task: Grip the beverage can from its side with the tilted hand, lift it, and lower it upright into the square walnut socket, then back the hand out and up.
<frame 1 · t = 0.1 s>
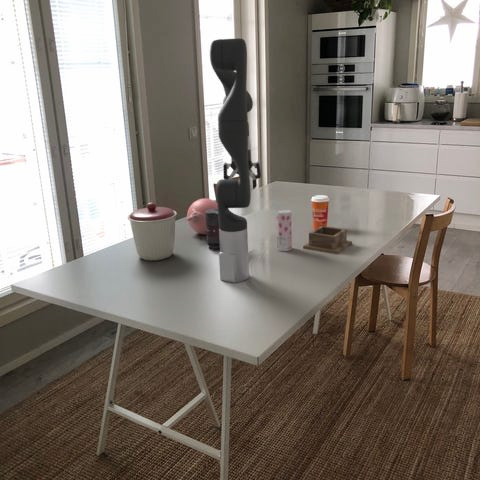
hand: (243, 188, 202), 22 cm above the table, tool pointing down, fingers open, 8 cm apart
paper cup: (320, 229, 225), on the table
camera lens: (217, 248, 205), on the table
can socket: (327, 246, 202), on the table
beverage can: (284, 249, 201), on the table
pink piggy bank: (203, 235, 223), on the table
canister: (156, 256, 199), on the table
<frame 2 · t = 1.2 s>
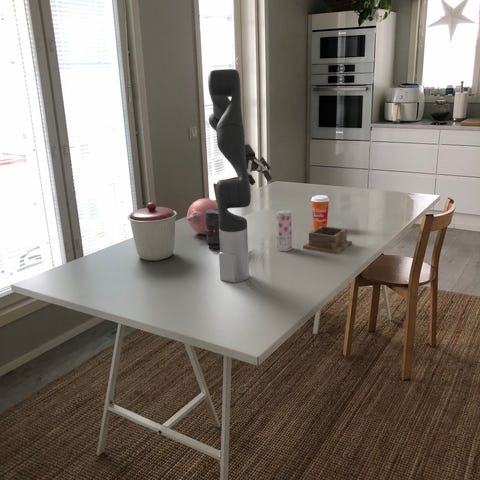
hand: (262, 182, 202), 25 cm above the table, tool tilted 45°, fingers open, 8 cm apart
nothing on the table moved.
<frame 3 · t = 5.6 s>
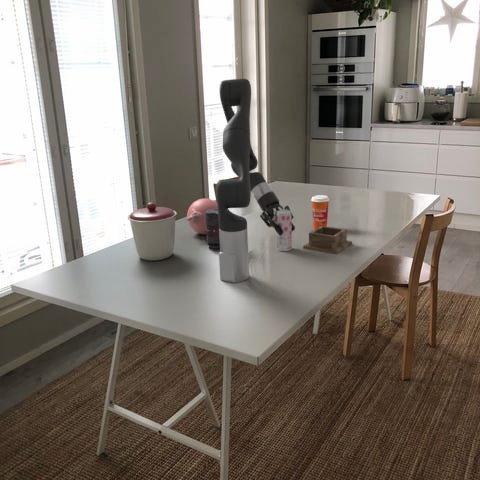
hand: (287, 231, 197), 7 cm above the table, tool tilted 45°, fingers closed on beverage can, 5 cm apart
beverage can: (284, 249, 201), on the table, touching gripper
everything else where it was.
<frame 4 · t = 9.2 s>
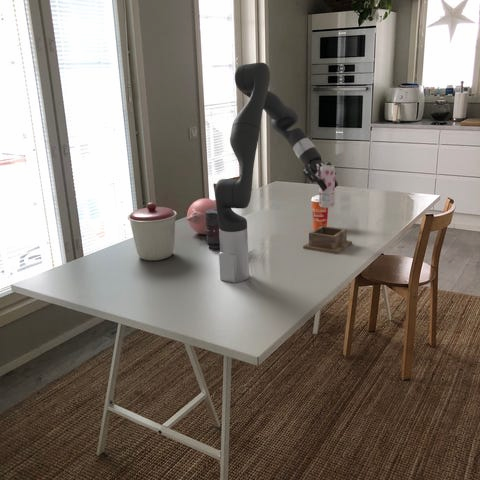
hand: (330, 187, 194), 23 cm above the table, tool tilted 45°, fingers closed on beverage can, 5 cm apart
beverage can: (326, 206, 198), point 16 cm above the table, touching gripper
everything else where it was.
when the fingers open (9 cm above the table, at t = 12.7 s): beverage can drops 1 cm, resting on can socket.
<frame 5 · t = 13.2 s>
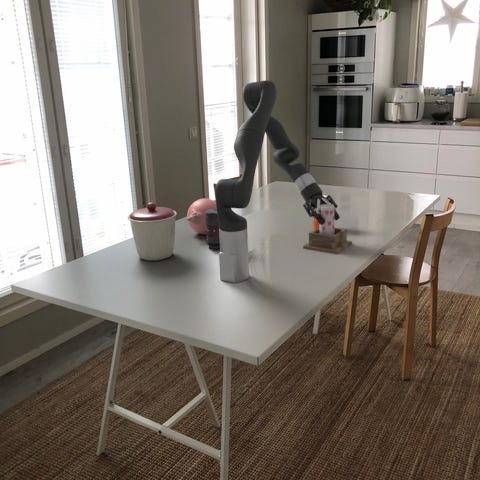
hand: (330, 221, 198), 10 cm above the table, tool tilted 45°, fingers open, 8 cm apart
beverage can: (326, 243, 202), point 1 cm above the table, touching can socket
everything else where it was.
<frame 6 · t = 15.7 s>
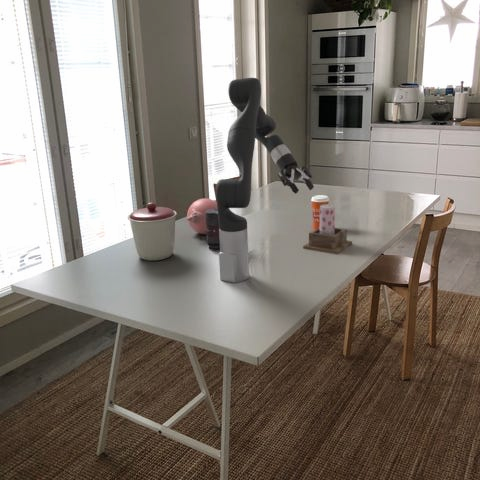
hand: (304, 190, 204), 20 cm above the table, tool tilted 45°, fingers open, 8 cm apart
nothing on the table moved.
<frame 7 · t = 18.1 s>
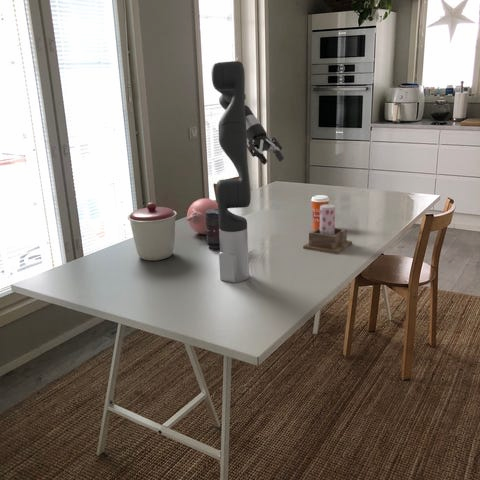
hand: (273, 161, 198), 33 cm above the table, tool tilted 45°, fingers open, 8 cm apart
nothing on the table moved.
at the end: beverage can 0.3 cm off-centre on the can socket, point 0.8 cm above the can socket's base; beverage can tilted 0°; the gripper is holding nothing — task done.
